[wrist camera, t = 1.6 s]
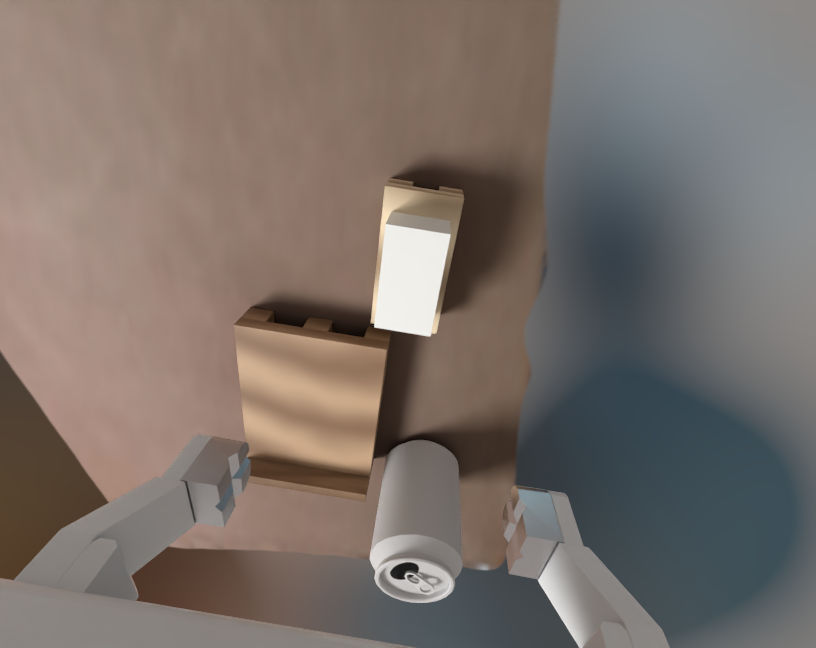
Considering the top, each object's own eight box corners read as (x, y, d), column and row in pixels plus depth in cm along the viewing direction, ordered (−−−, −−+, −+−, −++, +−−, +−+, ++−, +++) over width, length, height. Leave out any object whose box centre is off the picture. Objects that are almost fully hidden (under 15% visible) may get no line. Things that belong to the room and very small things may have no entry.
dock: (250, 307, 32) (220, 338, 28) (391, 330, 32) (383, 365, 28) (260, 440, 40) (238, 481, 36) (373, 459, 40) (365, 501, 36)
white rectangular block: (391, 211, 25) (385, 223, 22) (450, 220, 25) (450, 234, 22) (380, 306, 28) (374, 327, 26) (431, 315, 28) (430, 336, 26)
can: (414, 422, 37) (402, 544, 27) (473, 457, 39) (484, 585, 29) (372, 462, 41) (347, 585, 30) (429, 493, 42) (424, 619, 32)
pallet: (390, 177, 27) (385, 185, 24) (462, 189, 27) (464, 198, 24) (376, 305, 32) (370, 323, 29) (436, 314, 32) (436, 333, 29)
